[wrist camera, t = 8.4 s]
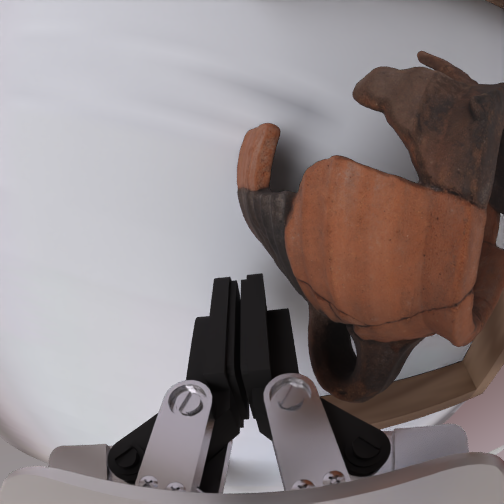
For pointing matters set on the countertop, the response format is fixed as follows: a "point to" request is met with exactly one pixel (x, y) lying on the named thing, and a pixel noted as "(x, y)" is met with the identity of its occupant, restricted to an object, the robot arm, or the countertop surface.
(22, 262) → the countertop surface
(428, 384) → the frame
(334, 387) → the pottery mug
